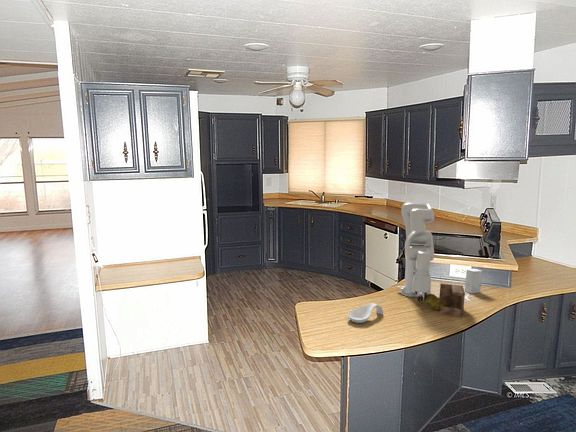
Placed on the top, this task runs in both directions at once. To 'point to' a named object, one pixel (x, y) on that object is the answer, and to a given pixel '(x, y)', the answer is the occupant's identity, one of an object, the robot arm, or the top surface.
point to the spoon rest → (364, 313)
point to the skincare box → (473, 281)
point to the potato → (434, 301)
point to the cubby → (452, 299)
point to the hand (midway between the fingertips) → (420, 302)
